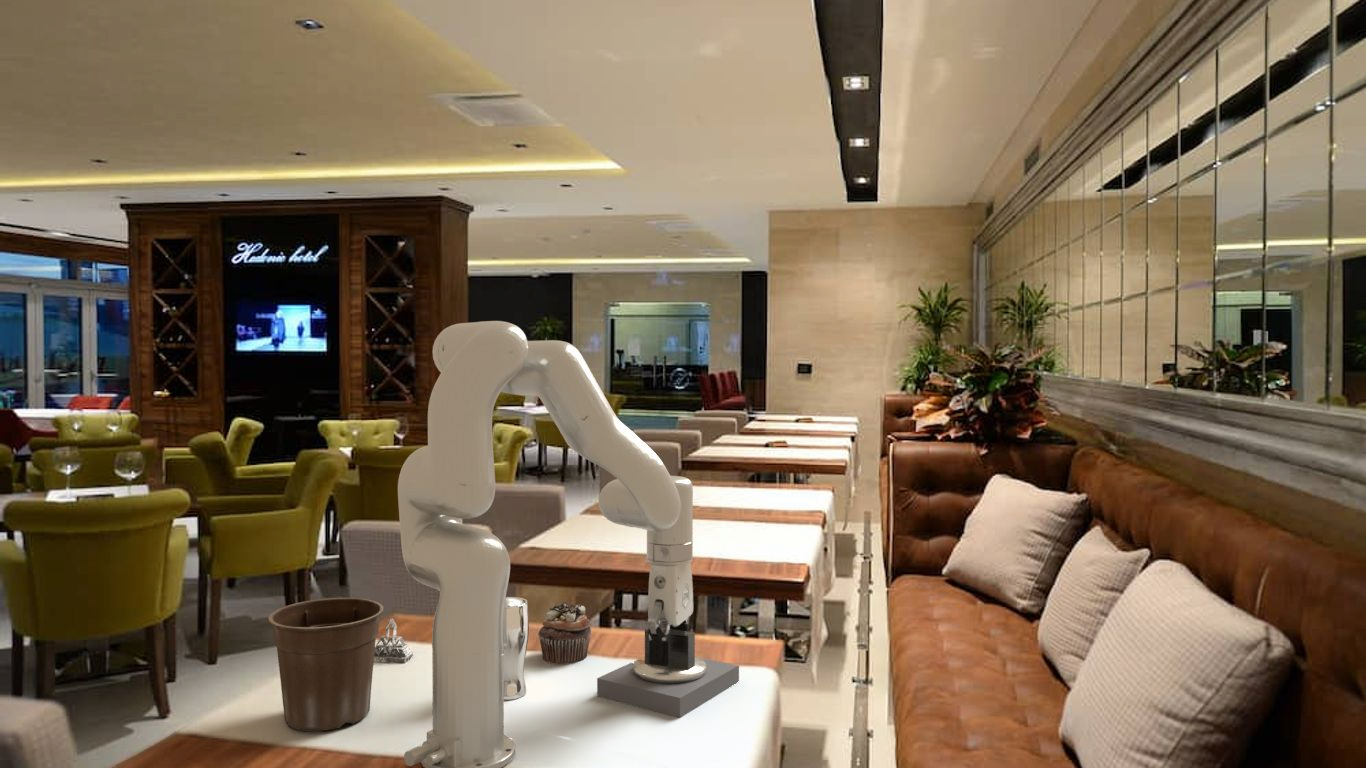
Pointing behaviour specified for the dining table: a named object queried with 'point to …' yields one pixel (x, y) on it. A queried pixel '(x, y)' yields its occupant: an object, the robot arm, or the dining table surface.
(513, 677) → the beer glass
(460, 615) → the robot arm
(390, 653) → the house of cards
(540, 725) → the dining table surface
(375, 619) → the plant pot
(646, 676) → the dial
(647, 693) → the control panel
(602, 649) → the dining table surface
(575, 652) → the cupcake
